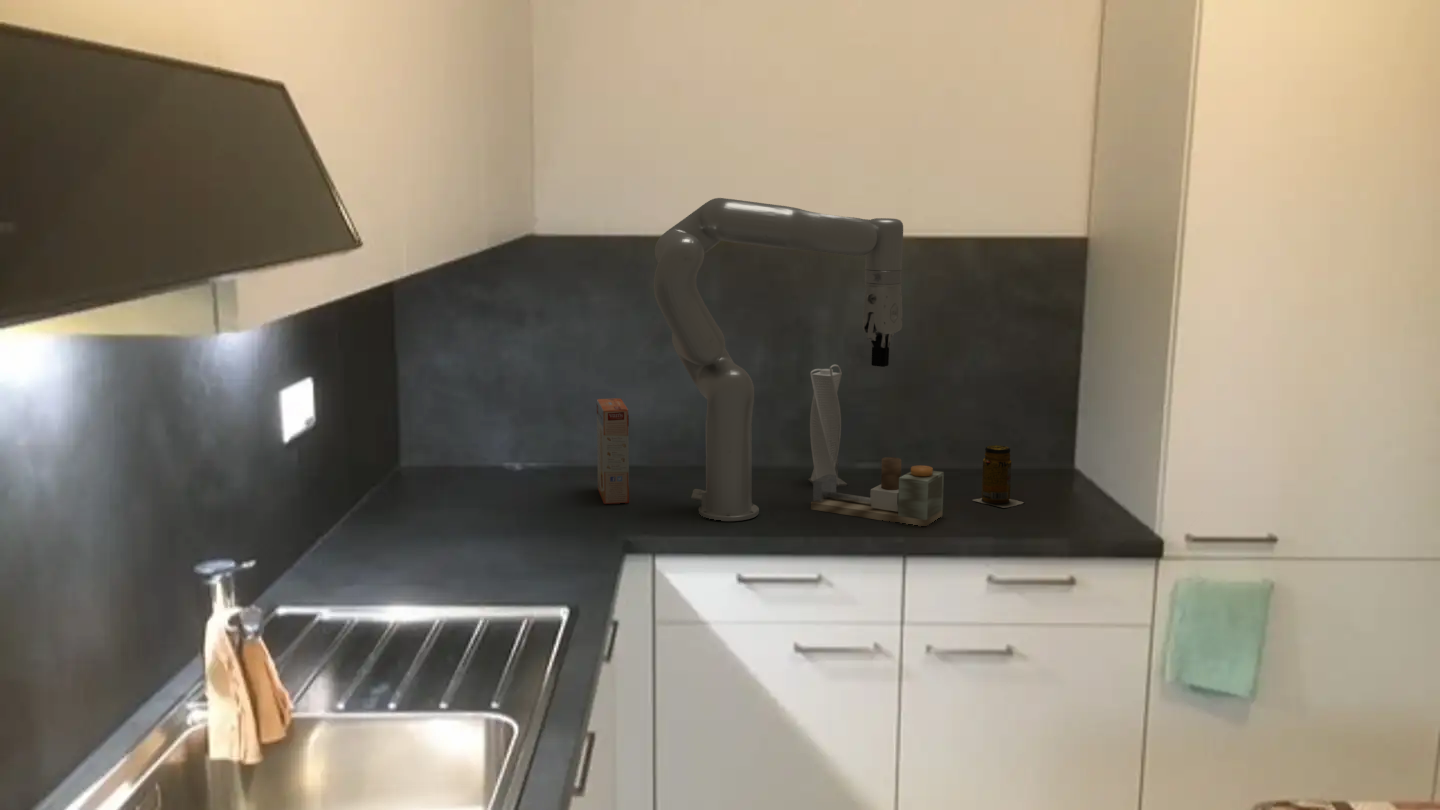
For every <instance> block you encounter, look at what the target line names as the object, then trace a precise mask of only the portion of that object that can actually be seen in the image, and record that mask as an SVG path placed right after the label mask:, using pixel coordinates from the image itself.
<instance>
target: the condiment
mask: <svg viewBox="0 0 1440 810" xmlns="http://www.w3.org/2000/svg"><path fill="white" fill-rule="evenodd" d="M984 452H985V453H984V458H983V461H982V472H981V473H982V477H981V497H980V498H974V499H972V501H973V502H977V503H981V504H985V505H990V506H994V507H998V508H1010V507H1011V508H1012V507H1015V506H1016V507H1017V506H1018V505H1022V504H1024V503H1025V502H1023V501H1019V500H1017V499H1013V498H1011V485H1012V484H1011V483H1012V482H1011V480H1012V460H1011V448H1010V447H1008V446H1006V445H999V444H993V445H991V444H990V445H988V446H986V447H985V450H984Z"/></svg>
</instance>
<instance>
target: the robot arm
mask: <svg viewBox="0 0 1440 810" xmlns="http://www.w3.org/2000/svg"><path fill="white" fill-rule="evenodd" d="M721 242H729V243H736V244H744V245H753V246H762V247H769V248H777V249H785V250H792V251H793V250H794V251H798V250H799V251H810V252H811V251H813V252H822V253H829V254H837V255H844V256H845V255H846V256H854V257H862V256H865V268H864V271H865V273H864V286H865V292H864V300H863V301H864V302H863V313H862V329H863V331H864V333H867V334H866V339H867V341H870V346H871V363H870V364H871V366H874V367H880V368H881V367H884V368H885V367H888V366H889V364H890V363H889V361H890V360H889V359H890V358H889V357H890V347H891V341H892V337H894V335H895V334H896V333H897V332H899V331H901V330H902V328H903V294H902V273H903V271H902V270H903V247H904V246H903V245H904V224H903V221H902V220H900V219H898V218H890V217H889V218H888V217H887V218H886V217H885V218H884V217H883V218H882V217H881V218H880V217H879V218H878V217H877V218H872V219H865V218H860V217H854V216H853V217H851V216H842V215H841V216H840V215H833V214H829V213H828V214H827V213H821V212H814V211H809V210H805V209H802V208H798V207H793V206H787V205H779V204H771V203H763V202H758V201H757V202H755V201H750V200H742V199H733V198H724V197H716V198H712V199H709V200H708V201H706V202H705V203H703V204H702V205H700V206H699V207H698V208H697V209H695V210H694V211H692V213H690V214H688V215H687V216H686V217H684V218H683V219H682V220H680V221H679V222H678V223H676V224H674V226H672V227H671V228H669V229H668V230H666V231H665V232H664V233H663V234H662V235H661V236H660V237H658V240H657V241H656V243H655V247H654V255H655V256H654V257H655V259H656V262H657V265H656V269H655V272H654V278H653V293H654V297H655V300H656V303H657V306H658V308H659V310H660V311H661V313H662V315H663V317H664V319H665V322H666V323H667V325H668V327H669V329H670V331H671V332H672V333H671V342H672V345H673V349H674V350H675V352H676V354H677V356H678V358H679V359H680V362H682V365H683V366H684V368H685V370H686V372H687V373H688V375H689V377H690V379H691V380H692V382H693V384H694V385H695V387H696V388H697V390H698V391H699V393H700V394H701V396H702V397H704V398H705V399H706V400H707V401H706V403H707V404H706V405H707V407H706V416H705V490H703V489H699V488H694V489H693V490H692V494H691V496H690V497H691V498H690V499H691V500H692V501H700V503H701V505H700V506H699V507H698V515H699V514H700V515H701V517H702V516H703V517H702V518H704V517H706V518H709V519H708V520H710V519H714V520H713V521H716V520H721V521H720V522H740V521H747V520H750V519H753V518H755V517H757V516H758V515H759V514H760V508H759V506H758V505H756V504H754V503H753V502H752V496H753V495H752V491H753V490H752V488H753V487H752V483H753V482H752V481H753V480H752V476H753V475H752V469H753V468H752V465H753V463H752V459H753V458H752V457H753V456H752V451H753V450H752V445H753V444H752V443H753V442H752V431H753V430H752V429H753V428H752V424H753V410H754V404H755V386H754V382H753V380H752V378H751V376H750V375H749V373H748V372H747V370H745V368H743V367H741V366H739V365H738V364H736V363H735V362H734V360H733V358H732V357H731V356H730V354H729V352H728V350H727V349H726V339H725V336H724V334H723V330H721V328H720V326H719V325H718V323H717V321H715V319H714V317H713V315H712V314H711V312H710V311H709V309H708V307H707V305H706V304H705V301H704V300H703V298H702V295H701V294H700V292H699V289H698V285H697V277H698V273H699V270H700V269H701V267H702V265H703V263H704V258H705V254H706V253H708V252H709V251H710V250H711V249H713V248H714V247H715V246H716V245H718V244H719V243H721ZM700 515H699V516H700ZM706 518H705V519H706Z"/></svg>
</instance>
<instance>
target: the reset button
mask: <svg viewBox="0 0 1440 810" xmlns="http://www.w3.org/2000/svg"><path fill="white" fill-rule="evenodd" d="M933 471H934V469H933V467H932V466H929V465H920V464H919V465H912V466H911V467H910V472H911V474H912V475H915V476H920V477H927V476H931V475H932V474H933Z"/></svg>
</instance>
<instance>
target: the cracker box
mask: <svg viewBox="0 0 1440 810" xmlns="http://www.w3.org/2000/svg"><path fill="white" fill-rule="evenodd" d="M629 414H630V411H629V408H628V407H627V405H626V404H625V402H624V401H623V400H622V398H617V397H616V398H598V399H596V443H597V444H596V447H597V450H596V452H597V455H596V456H597V460H596V461H597V490H598V493H599V495H600V498H601V500H602V502H603V504H604V505H619V504H620V503H625V504H629V503H630V463H629V462H630V452H629V451H630V448H629V447H630V444H629V439H630V438H629V437H630V436H629V434H630V432H629V431H630V430H629V429H630V428H629V427H630V424H629V423H630V422H629V421H630V417H629Z"/></svg>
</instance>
